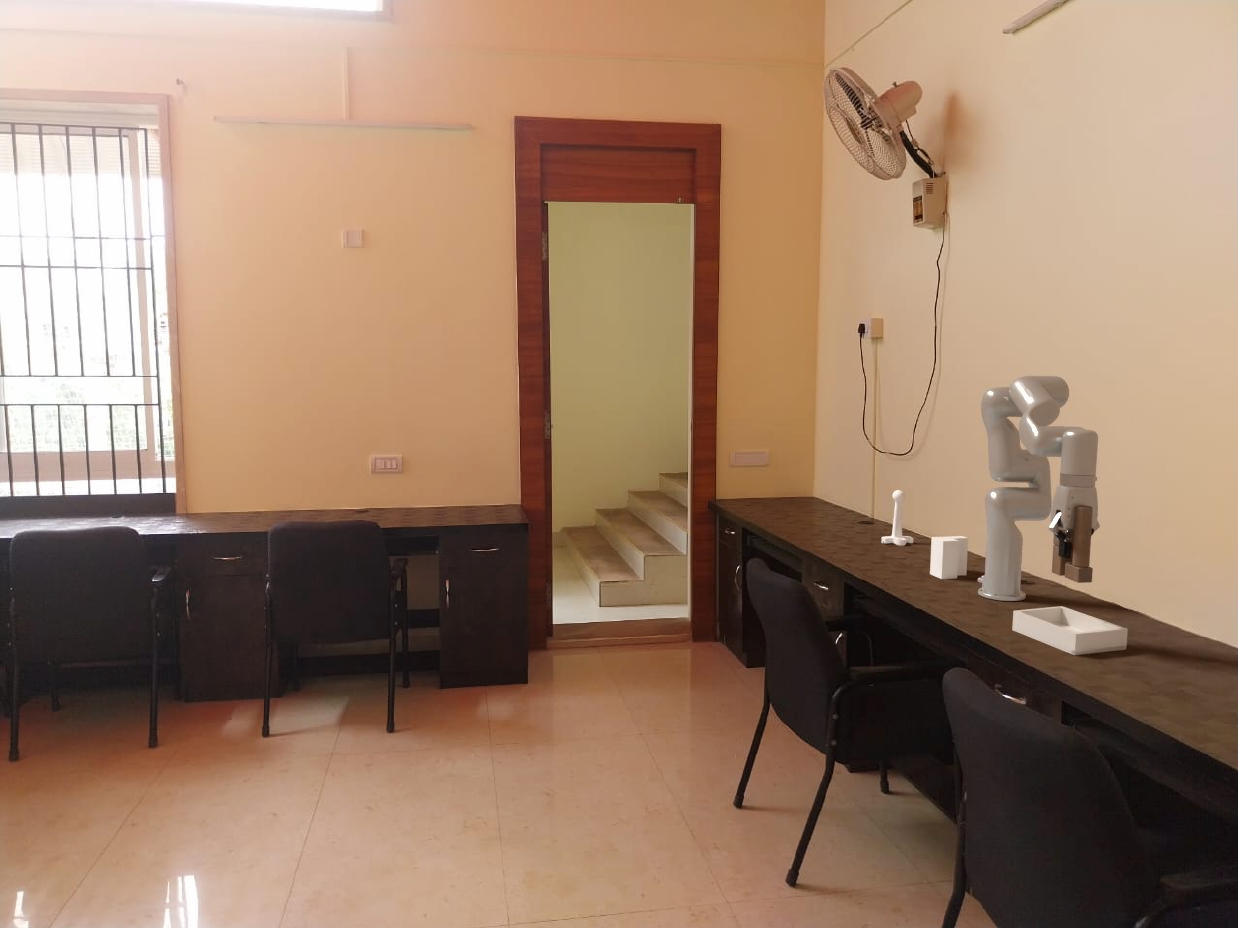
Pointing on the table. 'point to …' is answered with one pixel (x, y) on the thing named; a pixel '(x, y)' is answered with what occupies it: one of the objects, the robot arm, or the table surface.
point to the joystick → (897, 522)
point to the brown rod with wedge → (1076, 549)
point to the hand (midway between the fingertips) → (1072, 556)
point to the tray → (1070, 630)
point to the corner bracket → (948, 556)
